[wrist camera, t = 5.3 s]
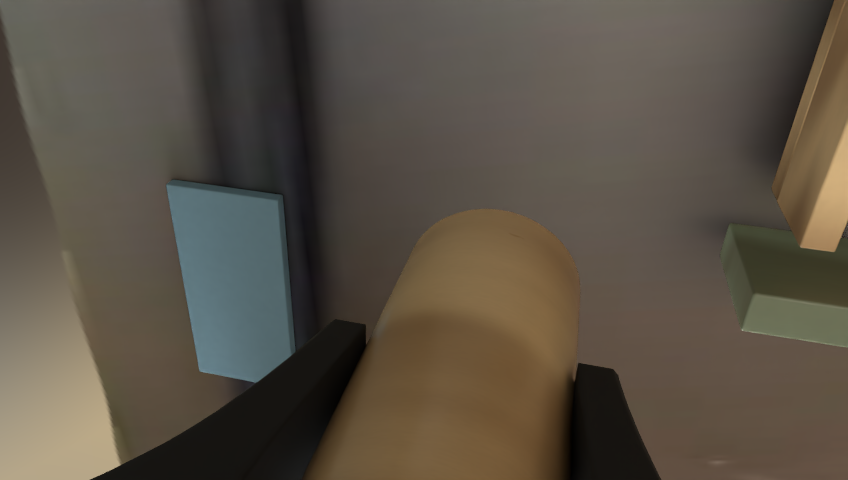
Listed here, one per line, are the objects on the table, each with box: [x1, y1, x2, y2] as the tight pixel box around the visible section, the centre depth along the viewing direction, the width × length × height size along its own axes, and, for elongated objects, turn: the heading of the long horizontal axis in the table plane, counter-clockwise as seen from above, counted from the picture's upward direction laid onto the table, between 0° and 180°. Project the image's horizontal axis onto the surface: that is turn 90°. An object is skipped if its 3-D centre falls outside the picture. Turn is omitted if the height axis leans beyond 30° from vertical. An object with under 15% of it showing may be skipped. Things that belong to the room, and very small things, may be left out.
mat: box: [166, 180, 296, 382], centre depth 26 cm, size 9×4×1 cm, turn 178°
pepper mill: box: [301, 209, 580, 480], centre depth 12 cm, size 4×4×9 cm
